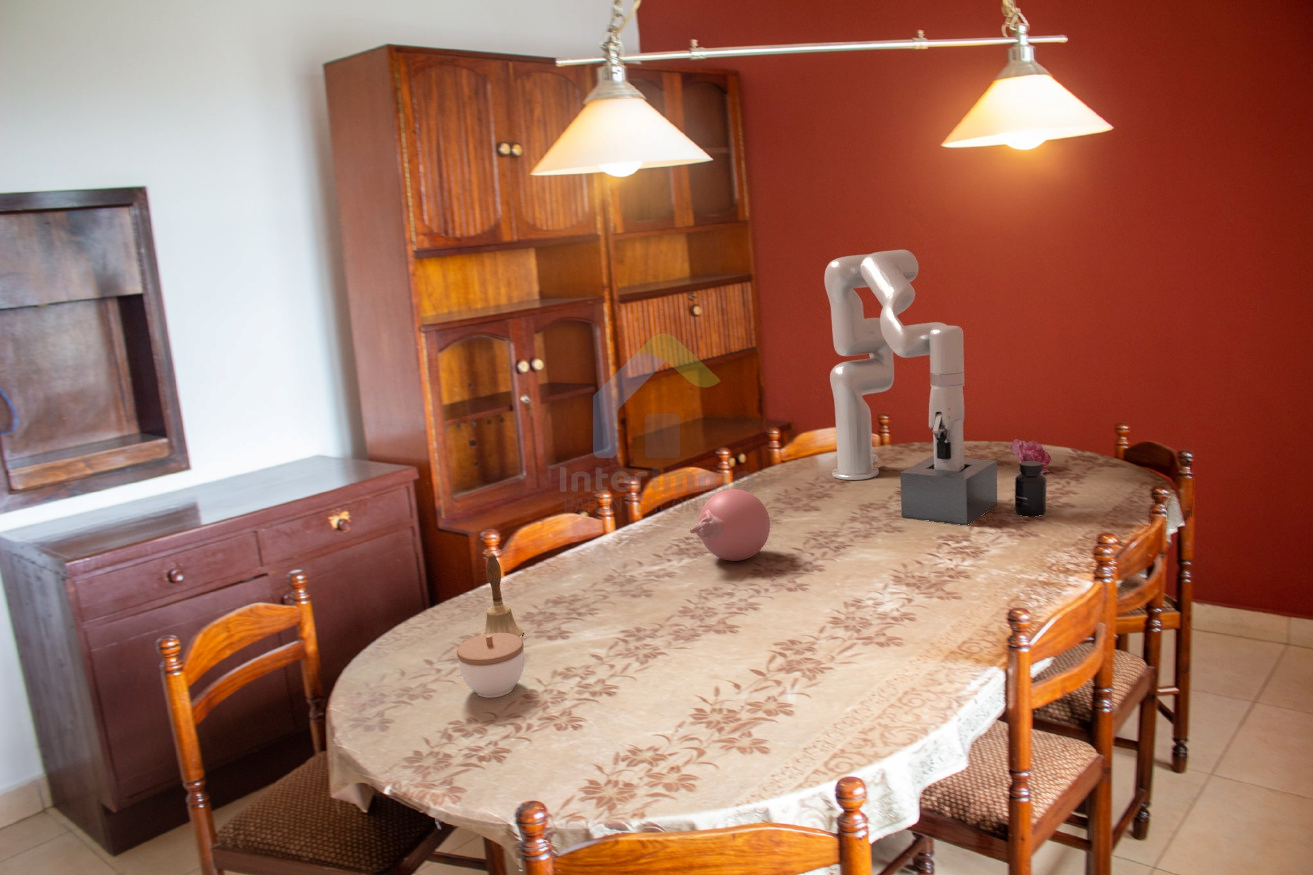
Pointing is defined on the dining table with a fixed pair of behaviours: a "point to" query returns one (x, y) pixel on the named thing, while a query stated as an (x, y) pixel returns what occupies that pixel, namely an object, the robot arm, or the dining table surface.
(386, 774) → the dining table surface
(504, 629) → the hand bell
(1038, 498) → the supplement bottle
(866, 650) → the dining table surface
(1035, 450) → the flower
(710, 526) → the pink party balloon
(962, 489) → the slot box
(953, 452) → the skincare box
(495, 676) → the lidded jar
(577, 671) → the dining table surface
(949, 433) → the robot arm
